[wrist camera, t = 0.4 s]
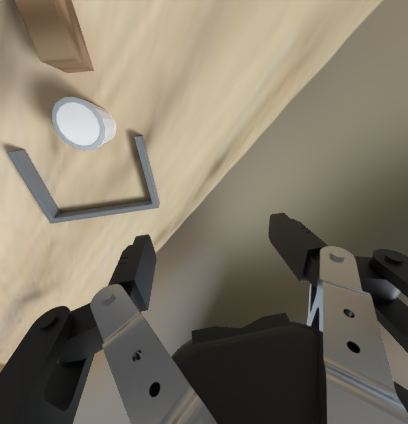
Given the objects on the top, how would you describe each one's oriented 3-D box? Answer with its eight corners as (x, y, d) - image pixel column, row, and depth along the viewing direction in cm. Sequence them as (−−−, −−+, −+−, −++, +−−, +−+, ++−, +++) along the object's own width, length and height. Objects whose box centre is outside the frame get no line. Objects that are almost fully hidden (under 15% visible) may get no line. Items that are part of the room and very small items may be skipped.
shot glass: (127, 138, 32) (114, 142, 26) (92, 150, 32) (71, 156, 26) (106, 96, 29) (86, 89, 23) (68, 109, 29) (38, 105, 23)
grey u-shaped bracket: (19, 150, 31) (6, 152, 29) (142, 135, 32) (140, 136, 30) (58, 217, 37) (50, 223, 35) (159, 203, 39) (158, 207, 36)
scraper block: (39, -2, 23) (-2, -38, 18) (70, -4, 23) (38, -41, 18) (68, 73, 27) (40, 60, 22) (94, 70, 27) (73, 57, 22)
